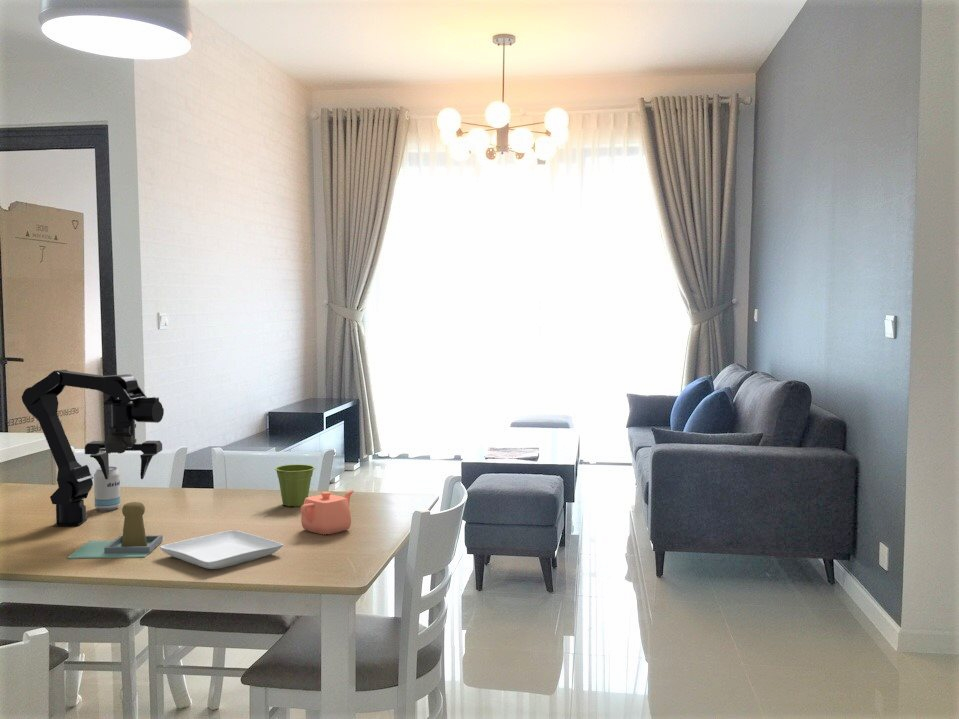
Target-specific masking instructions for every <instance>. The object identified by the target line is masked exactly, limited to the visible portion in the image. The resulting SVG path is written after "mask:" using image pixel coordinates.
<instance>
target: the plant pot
mask: <svg viewBox="0 0 959 719" xmlns="http://www.w3.org/2000/svg"><path fill="white" fill-rule="evenodd" d="M315 469H316V467H315V466H313V465H311V464H285V465H278V466H276V467H274V470H275V471H276V474H277V479H278V484H279V488H280V489H279V490H280V496H281V501H282V505H283V506H284V505H285V506H287V507H290V506H294V507H296V506H298V507H301V506H302V505H304V501H305V498H307V497H309V495H310V488H311V482H312V477H313V474H314V473H313V472H314V470H315Z"/></svg>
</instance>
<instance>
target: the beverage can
mask: <svg viewBox="0 0 959 719" xmlns="http://www.w3.org/2000/svg"><path fill="white" fill-rule="evenodd" d="M93 482H94V483H93V487H94V488H93V490H94V508H96V509H98V511H104V512H105V511H115V510H116V509H117V508H118V507H119V506H120V505H121V474H120V471H119V470H118V467H117V466H109V478H108V479H107V480H106V479H105V477H104V474H103V472H102V469H101V467H100V466H99V467H97V468H96V470H95V472H94V474H93Z"/></svg>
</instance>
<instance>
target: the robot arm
mask: <svg viewBox="0 0 959 719" xmlns="http://www.w3.org/2000/svg"><path fill="white" fill-rule="evenodd" d="M66 387H73V388H81V389H88V390H93V391H94V390H95V391H98V392H101V393H102V394H104V395H107V396H109V397H108V398H107V399H106V400H105V401H103V405H105V406H111V426H110V431H109V435H108V436H107V437H106V438H105V440H93V441H90V442H87V443H86V444H85V445H84V455H89V457H90V458H93V459H94V460H96V461H97V463H98V465H99V468H100V467H101V469H102V472H103V474H104V477H105V479H106V480H107V479H108V478H109V467H110V465H109V464H110V462H109V459H110V458H109V454H114V453H115V454H123V453H125V452H126V451H127V452H130V451H131V452H136V451H140V452H141V453H142V454H140V455H139V457H140V473H139V474H140V479H141V480H143V479H144V478H145V476H146V472H147V470H148V467H149V464H151V463H150V462H151V461H152V459H153V457H154V456H156V455H157V454H159V453H160V452H162V451H163V444H162V442H161V440H146V441H144V442H142V443H137V438H136V428H137V423H155V424H156V423H157V424H158V423H160V422H161V421H162V420H163V418H164V413H165V410H164V407H163V405H162V402H161V401H160V397H159V396H153V397H147V395H146V394H145V392H144V391H143V389H142V388H141V387H140V385H139V384H138V380H137V379H136V377H135V375H133V374H130V373H129V374H128V373H127V374H114V375H113V374H112V375H101V374H93V373H87V372H86V373H85V372H79V371H71V370H70V371H69V370H67V369H59V370H53V371H51V372H50V373H49V374H48V375H47V376H46V377H44V378H42V379H41V380H40V381H37V382H36V383H34V384H33V385H32V386H29V387H26V389H25V390H24V391H23V392H22V394H21V400H22V403H23V405H24V407H25V408H26V410H27V411H28V413H29V414H30V415H31V416H33V417H34V418H35V419H36V420H37V422H38V424H39V426H40V428H41V431H42V432H43V435H44V437H45V440H46V443H47V445H48V447H49V451H50V452H51V455H52V457H53V460H54V461H55V464H56V467H57V476H56V482H57V489H56V490H55V491H54V492H53V493H52V494H51V495H50V497H49V498H50V501H51V504H52V505H55V517H56V520H55V522H54V524H53V526H54V527H70V526H71V527H76V526H80V525H82V524H83V523H84V522H87V521H88V520H87V519H88V518H87V506H86V505H85V502H84V499H85V500H86V499H87V498H88V495H89V492H91V490H92V488H93V487H94V483H93V482H94V475H92V473H91V471H90V468H89V466H88V465H87V464H85V465H81V463H79V462H78V460H77V459H76V457H75V453H74V451H73V449H72V447H71V444H70V441H69V438H68V437H67V434H66V432H65V429H64V428H63V425H62V423H61V420H60V417H59V415H58V409H59V398H58V396H59V395H60V394H62V392H64V389H65V388H66ZM136 422H137V423H136Z"/></svg>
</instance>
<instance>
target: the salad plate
mask: <svg viewBox="0 0 959 719" xmlns="http://www.w3.org/2000/svg"><path fill="white" fill-rule="evenodd" d="M283 546H284V543H281V542H280V541H279V542H278V541H275V540H272V539H269V538H266V537H263V536H259V535H256V534H252V533H248V532H245V531H241V530H236V529H230V530H225V531H221V532H215V533H211V534H207V535H202V536H201V535H200V536H196V537H192V538H188V539H187V538H186V539H183V540H180V541H176V542H171V543H166V544H163V545H160V546H159V548H160V550H161V551H162V552H163V553H165V554H166V555H169V556H171V557H173V558H176V559H179V560H181V561H184V562H186V563H189V564H192V565H194V566H198V567H201V568H204V569H207V570H208V569H209V570H219V569H223V568H228V567H232V566H236V565H240V564H242V563H246V562H247V563H248V562H251V561H255V560H257V559H258V560H259V559H260V558H264V557H267V556H270V555H272V554H275V553H276V552H278V551H279V550H281V549H282V547H283Z"/></svg>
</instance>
